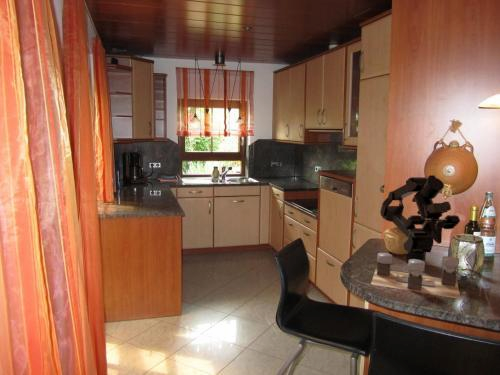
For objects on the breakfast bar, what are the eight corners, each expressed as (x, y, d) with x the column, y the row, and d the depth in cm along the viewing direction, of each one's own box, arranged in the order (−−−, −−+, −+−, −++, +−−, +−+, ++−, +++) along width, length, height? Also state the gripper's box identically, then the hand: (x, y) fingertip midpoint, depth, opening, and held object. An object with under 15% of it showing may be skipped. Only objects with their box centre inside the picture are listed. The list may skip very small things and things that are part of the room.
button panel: (375, 272, 157) (376, 258, 156) (456, 284, 147) (458, 269, 146) (370, 288, 142) (371, 272, 141) (460, 303, 132) (462, 286, 131)
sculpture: (378, 249, 185) (380, 225, 183) (400, 247, 189) (402, 223, 187) (395, 257, 174) (398, 232, 173) (418, 255, 179) (421, 230, 177)
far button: (414, 273, 142) (416, 258, 141) (426, 278, 138) (428, 263, 137) (403, 275, 140) (405, 260, 139) (415, 281, 136) (417, 265, 135)
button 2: (447, 270, 146) (449, 255, 146) (460, 275, 142) (462, 260, 141) (437, 272, 144) (439, 257, 143) (450, 277, 140) (451, 261, 139)
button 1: (384, 266, 154) (385, 252, 154) (394, 270, 150) (395, 256, 149) (373, 267, 152) (374, 253, 151) (383, 272, 148) (384, 258, 147)
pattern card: (396, 275, 150) (396, 273, 150) (433, 281, 146) (433, 279, 145) (395, 281, 144) (395, 279, 144) (433, 287, 140) (434, 285, 140)
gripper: (411, 193, 150) (425, 231, 141) (460, 193, 152) (476, 231, 143) (398, 210, 159) (411, 247, 150) (444, 210, 161) (459, 246, 152)
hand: (439, 243), depth 149 cm, fingers closed
